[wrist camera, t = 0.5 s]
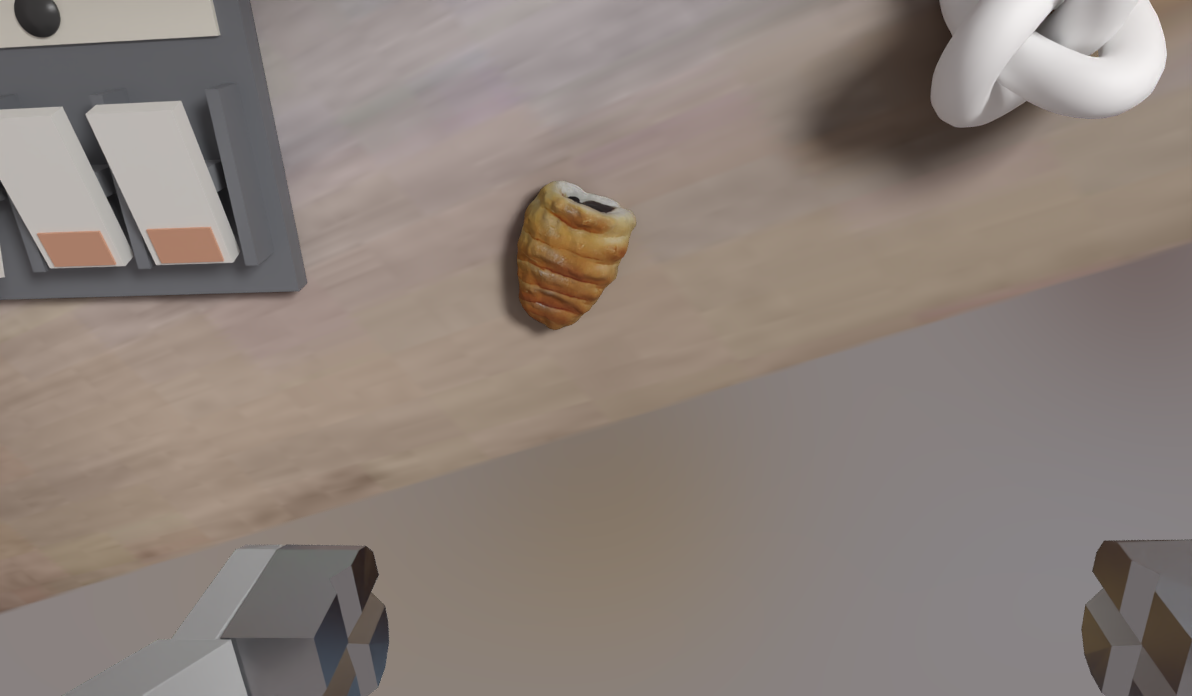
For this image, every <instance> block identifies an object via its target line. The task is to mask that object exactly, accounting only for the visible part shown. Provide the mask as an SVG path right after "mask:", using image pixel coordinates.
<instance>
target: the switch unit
mask: <svg viewBox="0 0 1192 696" xmlns="http://www.w3.org/2000/svg"><path fill="white" fill-rule="evenodd" d="M165 101H181V102H182V104H183V107H184V109H185V112H186V114H187V117H188V120H189V122H190V125H191V127H192V130H193V132H194V135H195V137H196V140H197V143H198V145H199V148H200V150H201V153H202V155H203V158H204V160H205V163H206V166H207V168H208V171H209V173H210V176H211V178H212V181H213V183H214V186H215V189H216V191H217V194H218V196H219V199H220V201H221V204H222V206H223V209H224V212H225V214H226V217H227V219H228V222H229V224H230V227H231V229H232V232H233V235H234V237H235V240H236V242H237V245H238V247H239V250H240V253H239V255H238V256H237V258H236V259H235V261H234V262H233V263H207V264H175V265H156V264H155V262H154V260H153V258H152V255H151V253H150V251H149V249H148V247H147V245H146V243H145V241H144V238H143V236H142V234H141V232H140V230H139V228H138V226H137V223H136V221H135V219H134V217H133V215H132V213H131V211H130V209H129V206H128V204H127V202H126V200H125V198H124V196H123V194H122V191H121V189H120V187H119V185H118V183H117V181H116V179H115V177H114V174H113V172H112V170H111V168H110V166H109V164H108V162H107V159H106V157H105V155H104V153H103V151H102V149H101V147H100V145H99V142H98V140H97V138H96V136H95V134H94V132H93V130H92V127H91V125H90V123H89V121H88V119H87V117H86V115H85V114H86V113H87V112H88V111H89V110H91V109H92V108H93V107H94V106H95V105H104V104H124V103H144V102H165ZM42 107H63V109H64V111H65V113H66V115H67V117H68V119H69V121H70V123H71V125H72V128H73V130H74V132H75V134H76V136H77V138H78V140H79V142H80V144H81V146H82V148H83V150H84V152H85V154H86V157H87V159H88V161H89V163H90V165H91V167H92V169H93V171H94V173H95V175H96V177H97V179H98V181H99V183H100V185H101V188H102V190H103V192H104V194H105V196H106V198H107V200H108V202H109V204H110V206H111V208H112V210H113V212H114V214H115V217H116V219H117V221H118V223H119V225H120V227H121V229H122V231H123V233H124V235H125V237H126V239H127V241H128V243H129V245H130V248H131V250H132V252H133V254H134V256H133V258H132V259H131V260H130V261H129V262H128V264H127V265H126V266H112V267H81V268H49V266H48V264H47V262H46V260H45V259H44V257H43V255H42V253H41V252H40V250H39V248H38V246H37V244H36V243H35V241H34V239H33V237H32V235H31V234H30V232H29V230H28V228H27V227H26V225H25V223H24V221H23V219H22V218H21V216H20V214H19V212H18V211H17V209H16V207H15V205H14V203H13V202H12V200H11V198H10V196H9V195H8V193H7V191H6V189H5V187H4V186H3V184H2V182H1V180H0V248H1V255H2V261H3V268H4V275H5V277H2V278H0V300H6V299H41V298H76V297H111V296H146V295H181V294H216V293H251V292H286V291H300V290H301V289H302V288H303V287H304V286H305V285H306V284H307V279H306V274H305V269H304V264H303V259H302V254H301V250H300V245H299V240H298V235H297V230H296V225H295V220H294V215H293V210H292V205H291V201H290V196H289V191H288V186H287V181H286V176H285V171H284V166H283V161H282V156H281V152H280V147H279V142H278V137H277V132H276V127H275V122H274V117H273V112H272V107H271V103H270V98H269V93H268V88H267V83H266V78H265V73H264V68H263V63H262V58H261V53H260V49H259V44H258V39H257V34H256V29H255V24H254V19H253V14H252V9H251V4H250V0H0V110H1V109H22V108H42Z"/></svg>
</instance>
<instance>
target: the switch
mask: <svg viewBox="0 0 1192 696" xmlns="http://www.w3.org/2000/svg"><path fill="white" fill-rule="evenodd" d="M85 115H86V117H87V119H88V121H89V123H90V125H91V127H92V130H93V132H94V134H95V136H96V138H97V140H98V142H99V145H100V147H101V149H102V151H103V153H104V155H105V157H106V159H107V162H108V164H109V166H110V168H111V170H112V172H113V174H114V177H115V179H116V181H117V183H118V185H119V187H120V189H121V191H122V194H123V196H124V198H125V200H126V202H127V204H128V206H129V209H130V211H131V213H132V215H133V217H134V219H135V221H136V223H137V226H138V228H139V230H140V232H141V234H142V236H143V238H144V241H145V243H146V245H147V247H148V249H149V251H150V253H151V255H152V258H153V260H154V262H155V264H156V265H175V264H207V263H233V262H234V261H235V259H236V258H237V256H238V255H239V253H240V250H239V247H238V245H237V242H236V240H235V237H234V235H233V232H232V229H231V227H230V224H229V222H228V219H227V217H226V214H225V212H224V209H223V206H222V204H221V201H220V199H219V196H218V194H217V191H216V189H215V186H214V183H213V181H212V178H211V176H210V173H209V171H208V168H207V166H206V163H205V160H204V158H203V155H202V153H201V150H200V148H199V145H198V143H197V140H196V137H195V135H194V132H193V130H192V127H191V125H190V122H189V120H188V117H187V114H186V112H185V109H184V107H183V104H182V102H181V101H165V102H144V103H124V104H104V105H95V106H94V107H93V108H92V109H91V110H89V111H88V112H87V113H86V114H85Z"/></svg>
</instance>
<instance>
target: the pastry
mask: <svg viewBox="0 0 1192 696" xmlns="http://www.w3.org/2000/svg"><path fill="white" fill-rule="evenodd" d="M635 226H636V218H635V216H634V214H633V213H632V212H631V211H630V210H627V209H624V208H622V207H620V205H619V204H618V203H617V202H615V201H614V200H612V199H609V198H607V197H602V196H598V195H595V194H589V193H586V192H584V191H583V190H582V189H581V188H580V187H578V186H577V185H575V184H571V183H568V182H566V181H555V182H551V183H549V184H547V185H546V186H544V187H543V188H542V189H541V190H540V192H539V194H538V195H537V197H536V198H535V199H534V200H533V201H532V202H531V203H530V204H529V206H528V207H527V209H526V212H525V217H524V224H523V227H522V231H521V235H520V238H519V240H518V244H517V246H518V254H517V265H518V272H517V275H518V280H519V300H520V302H521V304H522V307H523V308H524V310H525V311H526V312H527V313H528V315H529V316H531V317H532V318H534V319H535V320H537V321H539V322H541V323H543V324H545V325H546V326H547V327H548V328H550V329H553V330H557V329H560V328H562V327H565V326H569V325H572V324H574V323H575V322H577V321H578V320H579V318H580V317H581V316H582V315H583V314H584V313H586V312H587V311H589V310H590V309H591V307H592V305H594V304H595V303H596V302H597V300H598V298H599V297H600V295H601V294H602V292H603V290H604V289H605V288H606V287H607V286H608V285H609V284H610V283H611V282H612V281H614V280H615V279H616V276H617V272H618V265H619V263H620V261H621V259H622V258H623V257H624V255H625V253H626V251H627V247H628V243H629V238H630V235H631V232H632V230H633V229H634V228H635Z"/></svg>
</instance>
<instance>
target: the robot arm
mask: <svg viewBox="0 0 1192 696" xmlns="http://www.w3.org/2000/svg"><path fill="white" fill-rule="evenodd" d="M1092 572H1093V573H1094V575H1095V576H1096V578H1097V579H1098V581H1099V582H1100V583H1101V585H1102V587H1103V589H1102V590H1100V591H1099V592H1098V593H1097V594H1096V595H1095V596H1094V597H1093V598H1092V599H1091V600H1090V601H1088V602H1087V603H1086V604H1085V610H1084V616H1083V623H1082V629H1081V630H1082V638H1083V647H1084V655H1085V658H1086V661H1087V664H1088V667H1089V669H1090V672H1091V675H1092V676H1093V678H1094V680H1095V682H1096V684H1097V685H1098V687H1099V689H1100V691H1101V693H1103V694H1104V695H1106V696H1192V539H1191V540H1116V541H1115V540H1113V541H1112V540H1111V541H1110V540H1109V541H1103V543H1102V544H1101V546H1100V548H1099V549H1098V551H1097V552H1096V557H1095V561H1094V566H1093V570H1092ZM378 576H379V573H378V569H377V566H376V561H375V557H374V553H373V551H372V550H371V549H369V548H368V547H367V546H351V545H285V546H283V545H244V546H242V547H240V548H238V549H236V550H235V551H234V552H233V553H232V555H231V556H230V558H229V559H228V560H227V562H226V563H225V564H224V566H223V567H222V569H221V570H220V572H219V573H218V574H217V576H216V577H215V578H214V580H213V581H212V582H211V584H210V585H209V587H208V588H207V590H206V591H205V592H204V593H203V595H202V596H201V598H200V599H199V600H198V602H197V603H196V605H195V606H194V608H193V609H192V610H191V612H190V613H189V614H188V616H187V617H186V619H185V620H184V621H183V623H182V624H181V625H180V627H179V628H178V630H177V631H176V632H175V634H174V635H173V637H172V638H171V639H166V640H165V639H157V640H156V641H154V642H152V643H151V644H149V645H147V646H146V647H144V648H142V649H140V650H139V651H137V652H135V653H134V654H132V655H131V656H128V657H127V658H125V659H123V660H122V661H120V662H118V663H117V664H115V665H113V666H111V667H110V668H108V669H106V670H105V671H103V672H101V673H100V674H98V675H96V676H94V677H93V678H91V679H89V680H88V681H86V682H84V683H83V684H81V685H79V686H77V687H76V688H74V689H72V690H71V691H69V692H67V693H66V694H64V695H62V696H368V695H369V694H370V693H372V692H373V691H374V690H376V689H377V688H378V686H379V683H380V681H381V678H382V675H383V672H384V670H385V666H386V659H387V652H388V646H389V628H388V618H387V613H386V608H385V605H384V604H383V603H382V602H381V601H380V600H379V599H378V598H377V597H376V596H375V595H374V594H373V593H372V592H371V591H372V589H373V587H374V585H375V582H376V580H377V578H378Z"/></svg>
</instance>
